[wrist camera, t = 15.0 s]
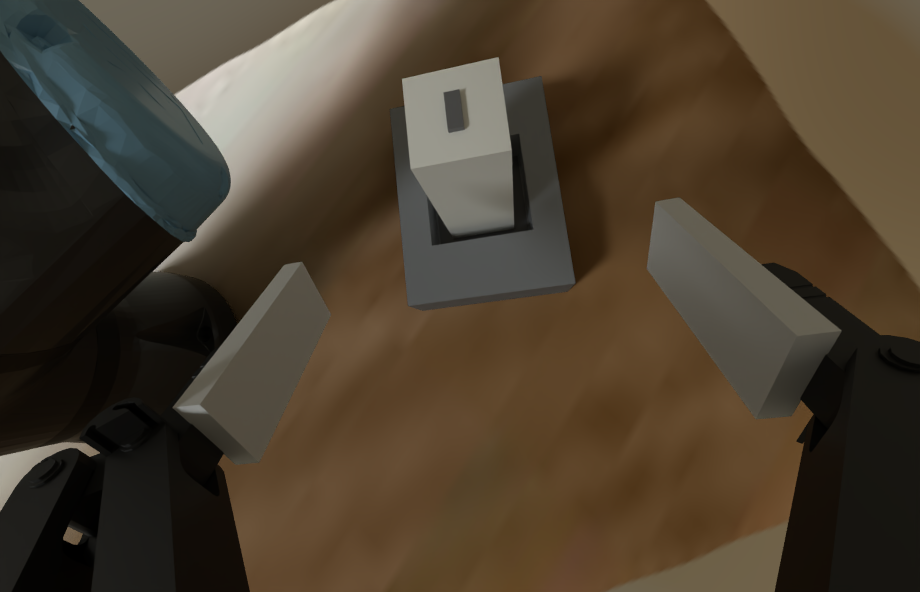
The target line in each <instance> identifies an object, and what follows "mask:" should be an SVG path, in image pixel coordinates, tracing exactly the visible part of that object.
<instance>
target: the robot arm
mask: <svg viewBox="0 0 920 592" xmlns="http://www.w3.org/2000/svg"><path fill="white" fill-rule="evenodd" d="M230 185H231V178H230V172H229V168H228V166H227V163H226V161H225V159H224V157H223V156H222V154H221V152H220V151H219V149H218V148H217V146H216V145H215V143H214V142H213V141H212V139H211V138H210V137H209V135H208V134H207V133H206V131H205V130H204V129H203V128H202V127H201V125H200V124H199V123H198V122H197V121H196V119H195V118H194V117H193V116H192V115H191V114H190V112H189V111H188V110H187V109H186V108H185V107H184V105H183V104H182V103H181V102H180V101H179V100H178V99H177V98H176V97H175V96H174V95H173V93H171V91H170V90H169V89H168V88H167V87H166V86H165V85H164V84H163V83H162V82H161V81H160V79H159V78H157V76H156V75H155V74H154V73H153V72H152V71H151V70H150V69H149V68H148V67H147V66H146V65H145V64H144V63H143V62H142V61H141V60H140V59H139V58H138V57H137V56H136V55H135V54H134V53H133V52H132V51H131V50H130V49H129V48H128V47H127V46H126V45H125V44H124V43H123V42H122V41H121V40H120V39H119V38H118V37H117V36H116V35H115V34H114V33H113V32H112V31H110V29H109V28H108V27H107V26H106V25H104V24H103V23H102V22H101V21H100V20H99V19H98V18H97V17H96V16H95V15H94V14H93V13H92V12H91V11H90V10H89V9H87V8H86V7H85V6H84V5H83V4H82V3H81V2H80V1H79V0H0V456H3V455H7V454H12V453H16V452H21V451H25V450H29V449H33V448H38V447H43V446H47V445H52V444H57V443H62V442H72V443H87V444H88V445H90V446H91V447H93V448H94V449H96V450H97V451H99V452H100V454H97V455H94V456H92V457H89V456H87V455H86V454H84V453H83V452H81V451H80V450H78V449H77V448H68V449H65V450H62V451H59V452H57V453H55V454H53V455H52V456H50V457H47V458H45V459H44V460H42V461H41V463H38V464H37V465H35V466H34V467H33V468H32V469H31V471H29V472H28V473H27V474H26V475H25V476H24V477H23V478H22V480H21V481H20V482H19V483H18V485H17V486H16V487H15V489H14V490H13V492H12V494H11V495H10V497H9V499H8V500H7V502H6V503H5V505H4V507H3V508H2V510H1V512H0V592H250V590H249V585H248V581H247V576H246V572H245V567H244V562H243V558H242V553H241V548H240V544H239V539H238V535H237V530H236V525H235V521H234V516H233V511H232V507H231V502H230V498H229V493H228V488H227V484H226V479H225V474H224V471H223V470H222V468H221V467H220V466H219V465H218V462H219V461H220V459H221V457H222V455H223V454H224V455H226V456H227V457H228V458H229V459H230V460H231V461H232V462H233V463H234V464H247V463H259V462H260V460H261V458H262V456H263V454H264V452H265V450H266V448H267V445H268V443H269V441H270V439H271V437H272V435H273V433H274V431H275V429H276V427H277V425H278V423H279V421H280V419H281V417H282V415H283V413H284V410H285V408H286V406H287V404H288V402H289V400H290V398H291V396H292V394H293V392H294V390H295V388H296V386H297V384H298V382H299V380H300V378H301V375H302V373H303V371H304V369H305V367H306V365H307V363H308V361H309V359H310V357H311V355H312V353H313V351H314V349H315V347H316V345H317V342H318V340H319V338H320V336H321V334H322V332H323V330H324V328H325V326H326V324H327V322H328V320H329V318H330V316H331V314H330V312H329V310H328V308H327V306H326V305H325V303H324V301H323V299H322V297H321V295H320V293H319V292H318V290H317V288H316V286H315V284H314V282H313V281H312V279H311V277H310V275H309V273H308V271H307V269H306V268H305V266H304V264H303V262H297V263H291V264H285V265H284V266H283V267H282V268H281V270H280V271H279V272H278V273H277V275H276V276H275V277H274V279H273V280H272V281H271V282H270V284H269V285H268V286H267V288H266V289H265V290H264V291H263V293H262V294H261V295H260V296H259V298H258V299H257V300H256V302H255V303H254V304H253V305H252V307H251V308H250V309H249V311H248V312H247V313H246V314H245V316H244V317H243V318H242V319H241V321H240V322H239V323H238V325H236V322H235V319H234V316H233V314H232V312H231V310H230V308H229V306H228V304H227V303H226V301H225V300H224V299H223V297H222V296H221V295H220V294H219V293H218V292H217V291H216V290H215V289H214V288H212V287H211V286H210V285H208V284H207V283H205V282H203V281H201V280H198V279H196V278H192V277H188V276H183V275H178V274H173V273H167V272H153V271H154V270H155V269H156V268H157V267H158V266H159V265H160V264H161V263H162V262H163V261H164V260H165V259H166V258H167V257H168V256H169V255H170V254H171V253H172V252H173V251H175V250H176V249H177V248H178V247H179V246H180V245H181V244H182V243H183V242H190V241H192V240H193V239H194V238H195V237H196V233H197V229H198V228H199V227H200V225H201V224H202V223H203V222H204V221H205V220H206V219H207V218H208V217H209V216H210V215H211V214H212V213H213V212H214V211H215V210H216V208H217V207H218V206H219V205H220V204H221V203H222V202H223V201H224V200H225V198H226V197H227V195H228V193H229V190H230ZM647 270H648V271H649V272H650V274H651V275H652V276H653V278H654V279H655V281H656V282H657V283H658V285H659V286H660V288H661V289H662V290H663V292H664V293H665V294H666V296H667V297H668V299H669V300H670V301H671V303H672V304H673V305H674V307H675V308H676V310H677V311H678V312H679V314H680V315H681V317H682V318H683V319H684V321H685V322H686V323H687V325H688V326H689V328H690V329H691V330H692V332H693V333H694V334H695V336H696V337H697V339H698V340H699V341H700V343H701V344H702V345H703V347H704V348H705V350H706V351H707V352H708V354H709V355H710V357H711V358H712V359H713V361H714V362H715V363H716V365H717V366H718V368H719V369H720V370H721V372H722V373H723V374H724V376H725V377H726V379H727V380H728V381H729V383H730V384H731V385H732V387H733V388H734V390H735V391H736V392H737V394H738V395H739V397H740V398H741V399H742V401H743V402H744V403H745V405H746V406H747V408H748V409H749V410H750V412H751V413H752V414H753V416H754V417H755V419H764V418H776V417H787V416H792V414H793V413H794V411H795V409H796V408H797V406H798V404H799V403H800V401H801V400H802V401H803V402H804V404H805V405H806V406H807V407H808V408H809V409H810V410H811V411H812V413H813V414H814V415H813V416H812V418H811V419H810V421H809V422H808V424H807V425H806V427H805V428H804V430H803V432H802V433H801V435H800V436H799V438H798V439H797V442H799V443H802V444H803V442H804V446H803V451H802V457H801V462H800V467H799V472H798V477H797V482H796V487H795V492H794V497H793V502H792V507H791V512H790V517H789V522H788V527H787V532H786V537H785V542H784V547H783V552H782V558H781V562H780V567H779V573H778V577H777V582H776V588H775V592H920V342H918V341H915V340H912V339H909V338H904V337H897V336H891V335H879V334H878V333H877V332H875V331H874V330H873V329H871V328H870V327H869V326H867V325H866V324H865V323H863V322H862V321H861V320H859V319H858V318H857V317H855V316H854V315H853V314H851V313H850V312H849V311H847V310H846V309H845V308H843V307H842V306H841V305H839V304H838V303H837V302H836V301H834V300H833V299H832V298H830V297H826V294H825V293H824V292H822V291H821V290H820V289H818V288H817V287H813V286H812V285H813V284H812V283H810V282H809V281H808V280H806V279H805V278H804V277H802V276H801V275H800V274H798V273H797V272H795V271H793V270H791V269H788V268H786V267H783V266H781V265H779V264H776V263H768V264H760V263H759V262H757V261H756V260H755V259H754V258H753V257H751V256H750V255H749V254H748V253H746V252H745V251H744V250H743V249H742V248H740V247H739V246H738V245H737V244H736V243H734V242H733V241H732V240H731V239H729V238H728V237H727V236H726V235H725V234H723V233H722V232H721V231H720V230H718V229H717V228H716V227H715V226H714V225H712V224H711V223H710V222H709V221H708V220H706V219H705V218H704V217H703V216H701V215H700V214H699V213H698V212H697V211H695V210H694V209H693V208H692V207H690V206H689V205H688V204H687V203H686V202H684V201H683V200H682V199H681V198H680V197H679V198H673V199H667V200H662V201H656V202H655V210H654V217H653V225H652V233H651V240H650V248H649V255H648V263H647ZM67 527H70V528H72V529H74V530H76V531H78V532H80V533H83V535H82V538H81V540H80V542H79V543H78V545H73V544H71V543H69V542H66V541H64V540H63V536H64V534H65V532H66V530H67Z"/></svg>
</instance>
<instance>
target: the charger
mask: <svg viewBox="0 0 920 592" xmlns="http://www.w3.org/2000/svg"><path fill="white" fill-rule="evenodd" d="M402 85H403V95H404V105H405V116H406V126H407V137H408V147H409V158H410V168H411V171H412V172H413V174H414V175H415V177H416V179H417V180H418V182H419V184H420V185H421V187H422V188H423V190H424V192H425V193H426V195H427V196H428V198H429V200H430V201H431V203H432V205H433V206H434V208H435V209H436V211H437V213H438V214H439V216H440V217H441V219H442V221H443V222H444V224H445V226H446V227H447V229H448V230H449V232H450V234H451V235H452V237H453V238H459V237H466V236H472V235H478V234H485V233H491V232H497V231H504V230H510V229H514V206H513V175H512V149H511V142H510V135H509V128H508V121H507V114H506V106H505V99H504V92H503V85H502V78H501V71H500V64H499V57H497V58H492V59H488V60H483V61H479V62H475V63H470V64H466V65H461V66H457V67H452V68H448V69H444V70H439V71H435V72H430V73H426V74H421V75H417V76H413V77H408V78H404V79H402Z"/></svg>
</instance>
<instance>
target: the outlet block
mask: <svg viewBox="0 0 920 592" xmlns="http://www.w3.org/2000/svg"><path fill="white" fill-rule="evenodd" d="M503 92H504V99H505V106H506V114H507V121H508V128H509V135H510V142H511V149H512V175H513V206H514V229H510V230H504V231H497V232H491V233H485V234H478V235H472V236H466V237H459V238H453V237H452V235H451V234H450V232H449V230H448V229H447V227H446V226H445V224H444V222H443V221H442V219H441V217H440V216H439V214H438V213H437V211H436V209H435V208H434V206H433V205H432V203H431V201H430V200H429V198H428V196H427V195H426V193H425V192H424V190H423V188H422V187H421V185H420V184H419V182H418V180H417V179H416V177H415V175H414V174H413V172H412V171H411V168H410V158H409V147H408V137H407V126H406V116H405V106H402V107H397V108H393V109H390V116H391V127H392V138H393V149H394V159H395V170H396V181H397V192H398V202H399V213H400V224H401V235H402V246H403V256H404V267H405V278H406V289H407V299H408V306H410V307H413V308H416V309H419V310H422V311H424V310H432V309H439V308H447V307H454V306H462V305H469V304H477V303H485V302H492V301H500V300H507V299H515V298H522V297H530V296H537V295H545V294H552V293H560V292H567V291H569V289H570V288H571V287H572V286H573V285H574V284H575V277H574V271H573V265H572V259H571V253H570V247H569V241H568V235H567V229H566V223H565V217H564V210H563V204H562V198H561V192H560V186H559V180H558V174H557V168H556V162H555V156H554V150H553V144H552V137H551V131H550V125H549V119H548V113H547V107H546V101H545V95H544V89H543V83H542V77H541V76H539V77H535V78H530V79H526V80H521V81H516V82H512V83H507V84H503Z"/></svg>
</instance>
